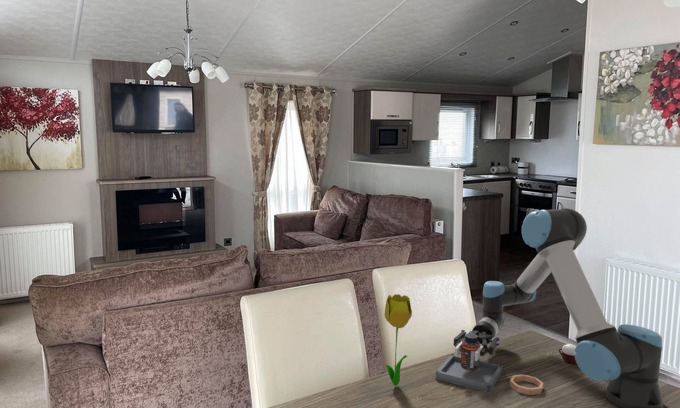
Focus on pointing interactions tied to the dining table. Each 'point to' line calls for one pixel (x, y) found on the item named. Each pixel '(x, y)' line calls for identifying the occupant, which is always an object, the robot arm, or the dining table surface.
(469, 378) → the tray
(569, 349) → the cocoa
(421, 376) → the dining table surface
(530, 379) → the holder ring
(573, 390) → the dining table surface
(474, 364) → the supplement bottle
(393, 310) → the flower
